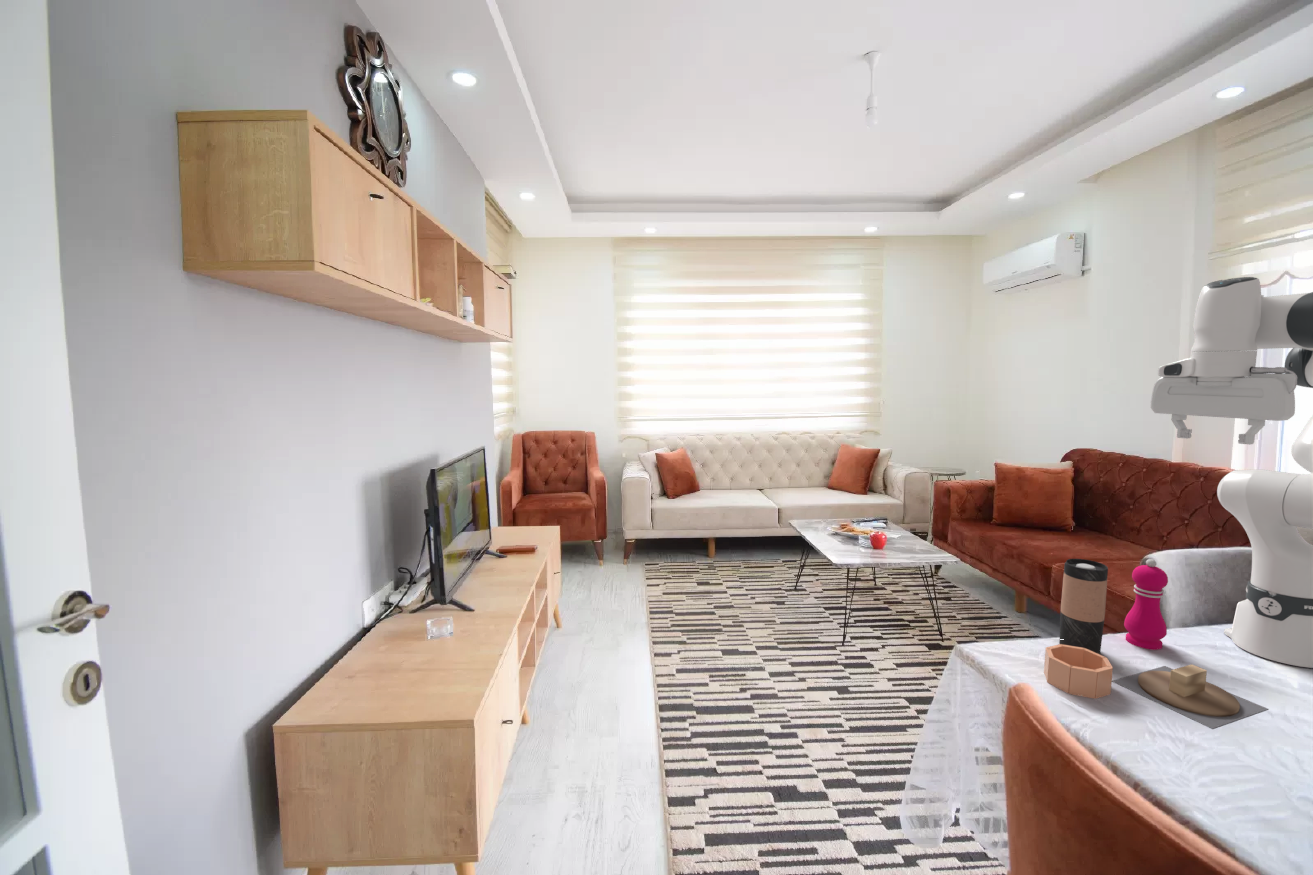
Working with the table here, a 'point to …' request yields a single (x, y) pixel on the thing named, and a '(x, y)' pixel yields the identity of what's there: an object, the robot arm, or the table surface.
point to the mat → (1212, 722)
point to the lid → (1189, 691)
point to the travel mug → (1083, 604)
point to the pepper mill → (1147, 607)
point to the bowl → (1078, 671)
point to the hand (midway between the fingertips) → (1213, 440)
